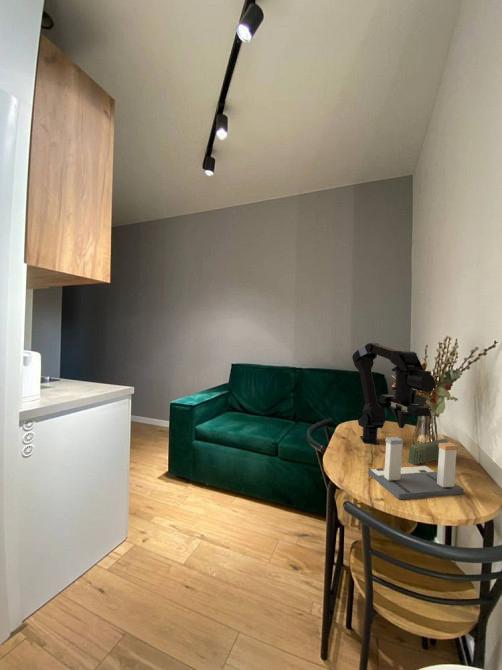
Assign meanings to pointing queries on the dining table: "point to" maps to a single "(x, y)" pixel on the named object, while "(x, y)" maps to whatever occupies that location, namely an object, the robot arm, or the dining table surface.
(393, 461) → the lever
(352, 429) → the dining table surface
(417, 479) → the switch bank
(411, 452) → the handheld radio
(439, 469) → the lever
